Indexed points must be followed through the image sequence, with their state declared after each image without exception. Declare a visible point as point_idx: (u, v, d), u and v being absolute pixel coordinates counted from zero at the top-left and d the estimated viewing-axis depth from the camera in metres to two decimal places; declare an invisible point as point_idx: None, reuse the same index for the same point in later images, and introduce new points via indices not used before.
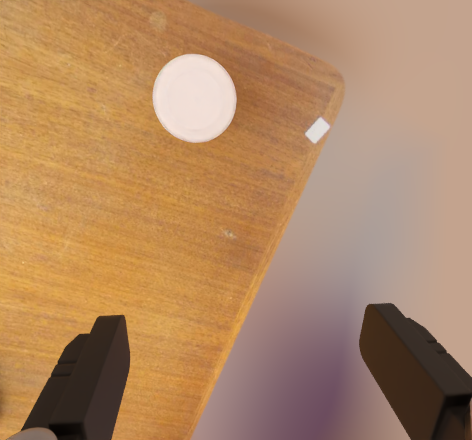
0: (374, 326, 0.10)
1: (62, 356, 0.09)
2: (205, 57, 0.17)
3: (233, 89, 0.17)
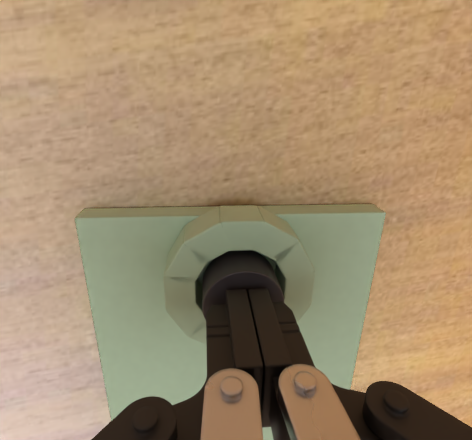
0: None
1: (207, 321, 0.10)
2: None
3: None
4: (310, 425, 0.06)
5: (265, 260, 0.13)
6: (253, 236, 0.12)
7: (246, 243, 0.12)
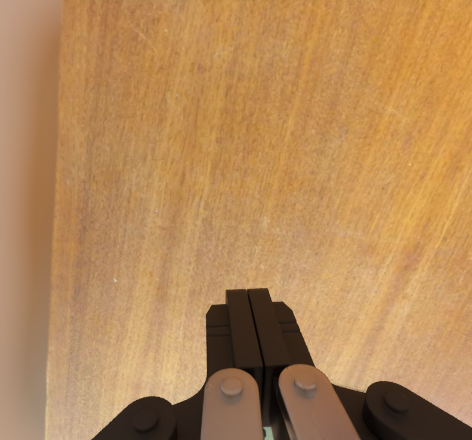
0: None
1: (207, 321, 0.10)
2: None
3: None
4: (310, 425, 0.06)
5: None
6: None
7: None
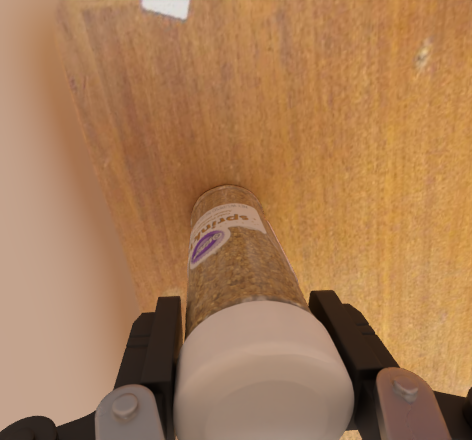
0: (315, 311, 0.11)
1: (132, 331, 0.10)
2: (179, 439, 0.08)
3: (202, 377, 0.07)
4: (403, 423, 0.07)
5: None
6: None
7: None
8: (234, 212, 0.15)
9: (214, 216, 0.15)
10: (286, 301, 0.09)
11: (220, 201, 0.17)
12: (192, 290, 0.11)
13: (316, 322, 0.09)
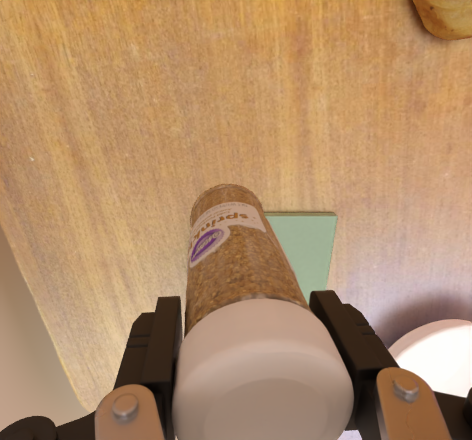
0: (315, 311, 0.11)
1: (132, 331, 0.10)
2: (178, 437, 0.08)
3: (201, 375, 0.07)
4: (403, 424, 0.07)
5: None
6: None
7: None
8: (234, 211, 0.15)
9: (213, 215, 0.15)
10: (285, 299, 0.09)
11: (220, 199, 0.17)
12: (191, 288, 0.11)
13: (315, 320, 0.09)
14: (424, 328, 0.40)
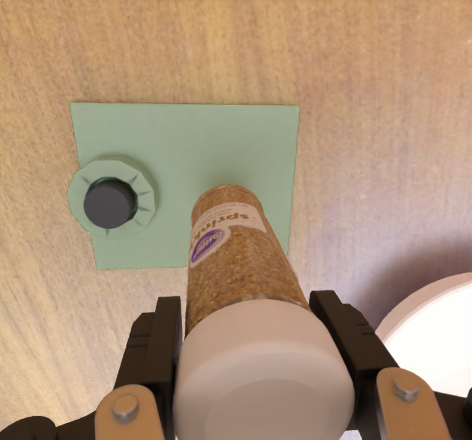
0: (315, 311, 0.11)
1: (132, 331, 0.10)
2: (178, 437, 0.08)
3: (202, 375, 0.07)
4: (403, 424, 0.07)
5: None
6: (76, 196, 0.23)
7: (81, 200, 0.23)
8: (235, 211, 0.15)
9: (214, 215, 0.15)
10: (286, 300, 0.09)
11: (221, 200, 0.17)
12: (192, 289, 0.11)
13: (316, 321, 0.09)
14: (437, 285, 0.27)
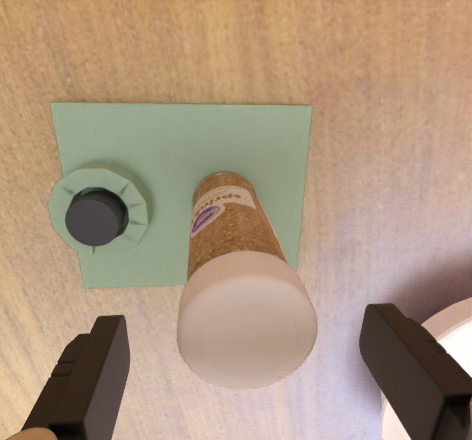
0: (374, 326, 0.10)
1: (62, 356, 0.09)
2: (182, 353, 0.10)
3: (199, 301, 0.09)
4: None
5: None
6: (58, 209, 0.20)
7: (63, 213, 0.20)
8: (229, 192, 0.17)
9: (211, 195, 0.17)
10: (266, 253, 0.11)
11: (218, 184, 0.19)
12: (192, 251, 0.14)
13: (289, 268, 0.11)
14: (463, 306, 0.24)
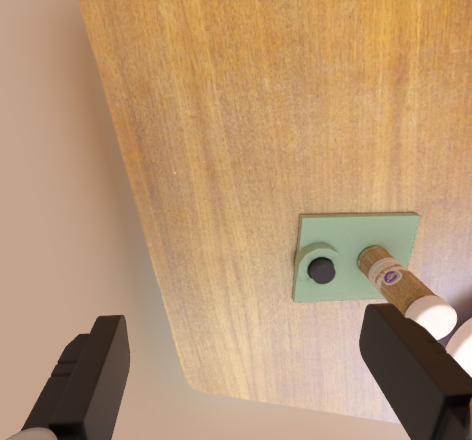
0: (374, 326, 0.10)
1: (62, 356, 0.09)
2: None
3: (425, 312, 0.32)
4: None
5: (312, 262, 0.42)
6: (303, 266, 0.42)
7: (305, 268, 0.42)
8: (394, 263, 0.39)
9: (385, 264, 0.40)
10: (435, 295, 0.34)
11: (380, 255, 0.41)
12: (396, 292, 0.36)
13: (445, 301, 0.33)
14: None
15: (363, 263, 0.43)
